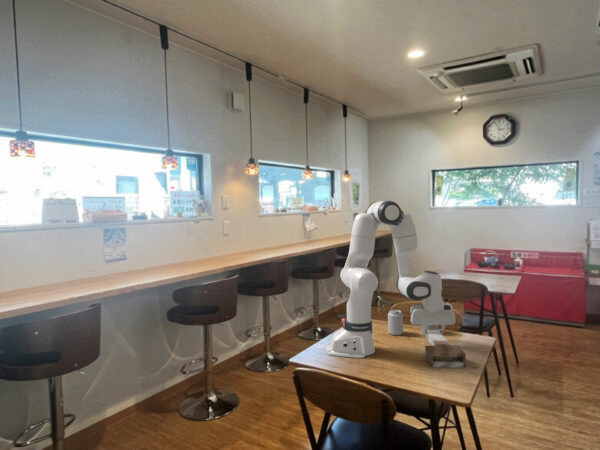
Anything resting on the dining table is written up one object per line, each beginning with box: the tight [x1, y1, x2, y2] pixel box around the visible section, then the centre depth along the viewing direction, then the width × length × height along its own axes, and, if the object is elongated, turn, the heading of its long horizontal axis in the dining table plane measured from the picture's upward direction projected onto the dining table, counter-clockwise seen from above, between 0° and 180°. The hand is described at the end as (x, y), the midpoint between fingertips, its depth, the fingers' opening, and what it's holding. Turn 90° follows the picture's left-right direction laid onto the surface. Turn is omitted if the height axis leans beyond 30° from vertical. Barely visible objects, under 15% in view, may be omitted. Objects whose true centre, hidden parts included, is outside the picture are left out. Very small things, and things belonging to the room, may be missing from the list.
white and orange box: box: [425, 330, 449, 346], centre depth 175 cm, size 6×16×3 cm, turn 175°
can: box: [387, 309, 404, 337], centre depth 198 cm, size 8×8×12 cm
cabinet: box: [424, 345, 467, 369], centre depth 160 cm, size 14×10×6 cm
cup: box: [421, 325, 440, 334], centre depth 198 cm, size 8×8×10 cm
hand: (433, 333), depth 181 cm, fingers closed on white and orange box, 6 cm apart
